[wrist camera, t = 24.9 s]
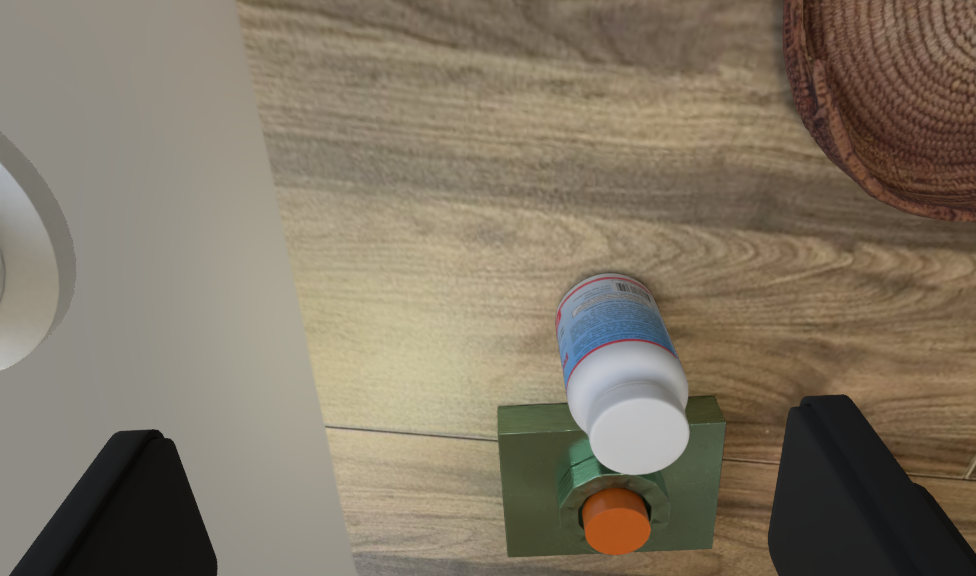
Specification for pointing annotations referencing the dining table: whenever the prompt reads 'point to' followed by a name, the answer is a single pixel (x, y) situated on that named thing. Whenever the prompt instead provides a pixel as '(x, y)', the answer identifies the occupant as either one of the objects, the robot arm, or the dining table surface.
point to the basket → (891, 96)
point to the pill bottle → (622, 374)
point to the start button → (615, 521)
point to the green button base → (602, 482)
